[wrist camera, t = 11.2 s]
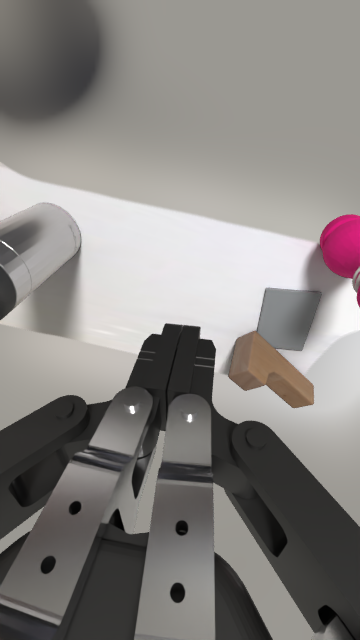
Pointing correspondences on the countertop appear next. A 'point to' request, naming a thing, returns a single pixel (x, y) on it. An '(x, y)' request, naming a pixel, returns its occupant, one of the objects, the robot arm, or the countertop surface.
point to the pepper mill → (343, 248)
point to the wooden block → (268, 371)
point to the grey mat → (287, 317)
